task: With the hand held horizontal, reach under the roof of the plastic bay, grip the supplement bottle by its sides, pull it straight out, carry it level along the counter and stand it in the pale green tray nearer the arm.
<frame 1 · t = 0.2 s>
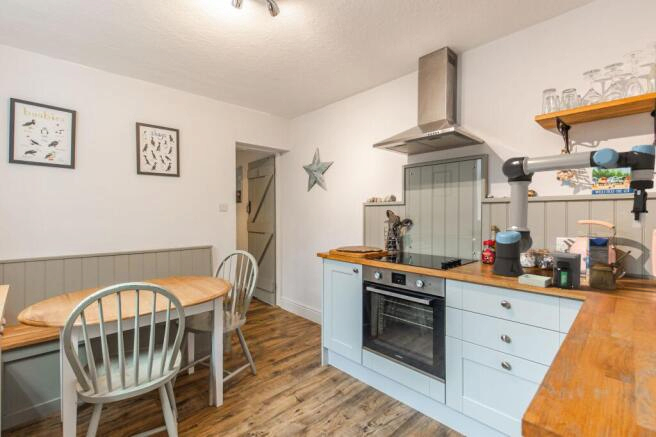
hand: (638, 227, 136), 28 cm above the worktop, tool pointing down, fingers open, 13 cm apart
bay: (563, 287, 138), on the worktop
wooden mug: (608, 288, 136), on the worktop
beverage box: (596, 283, 147), on the worktop
tray: (534, 283, 145), on the worktop
supplement bottle: (562, 288, 137), on the worktop
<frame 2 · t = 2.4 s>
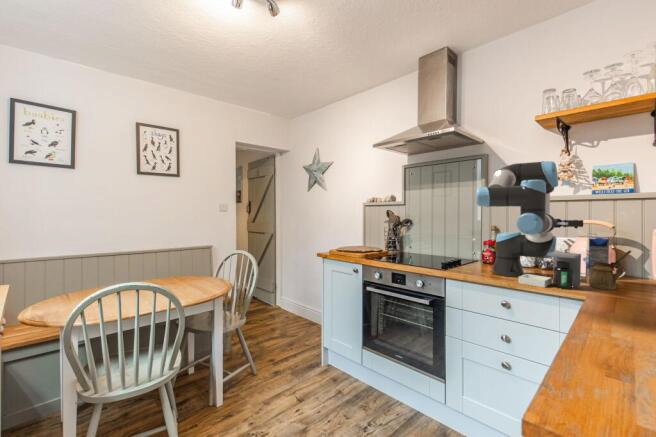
hand: (556, 222, 128), 30 cm above the worktop, tool horizontal, fingers open, 13 cm apart
nothing on the worktop moved.
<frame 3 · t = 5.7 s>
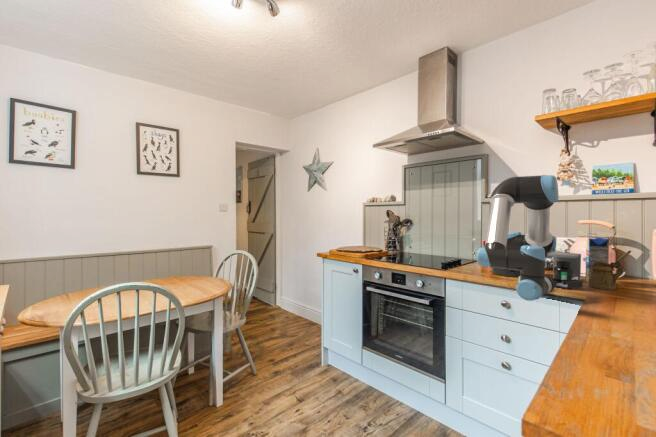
hand: (556, 277, 130), 6 cm above the worktop, tool horizontal, fingers open, 13 cm apart
nothing on the worktop moved.
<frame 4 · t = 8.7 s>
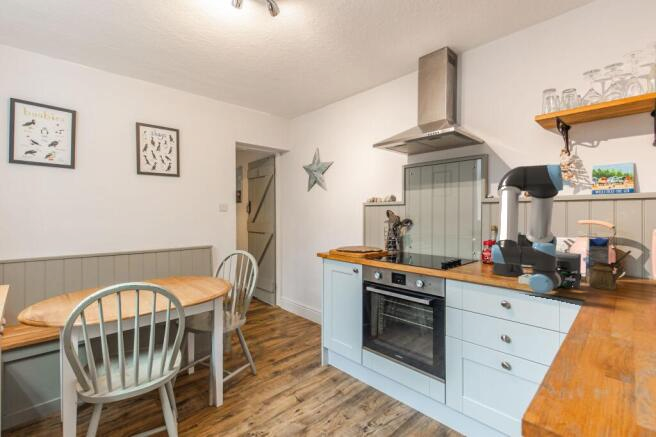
hand: (565, 272, 140), 7 cm above the worktop, tool horizontal, fingers closed on supplement bottle, 7 cm apart
supplement bottle: (562, 288, 137), on the worktop, touching gripper
everything else where it was.
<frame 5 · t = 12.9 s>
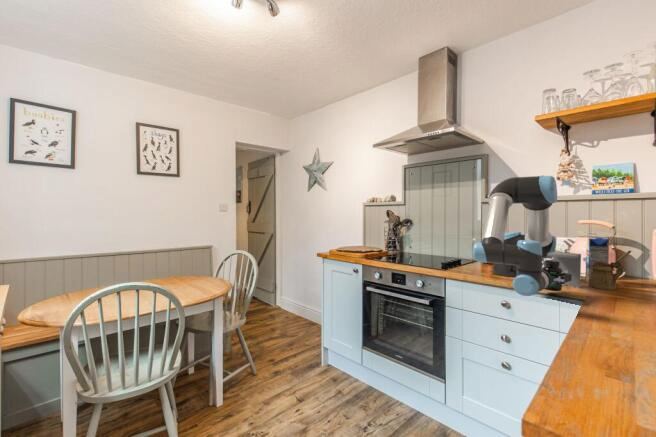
hand: (555, 272, 130), 9 cm above the worktop, tool horizontal, fingers closed on supplement bottle, 7 cm apart
supplement bottle: (551, 289, 127), point 2 cm above the worktop, touching gripper
everything else where it was.
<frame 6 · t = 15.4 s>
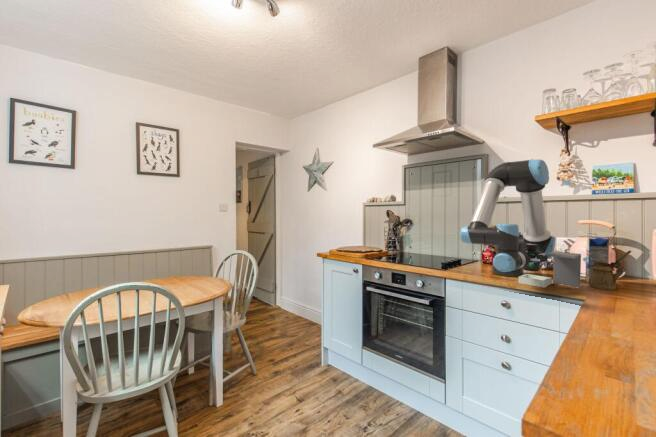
hand: (534, 255, 143), 14 cm above the worktop, tool horizontal, fingers closed on supplement bottle, 7 cm apart
supplement bottle: (530, 270, 140), point 7 cm above the worktop, touching gripper
everything else where it was.
when the fingers open (8 cm above the worktop, at t = 17.4 s): supplement bottle drops 1 cm, resting on tray.
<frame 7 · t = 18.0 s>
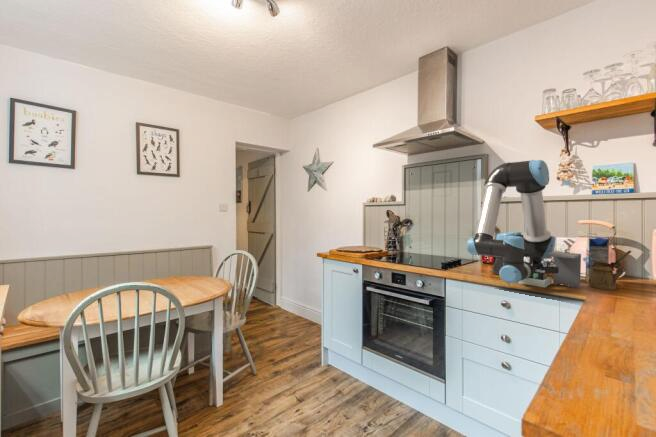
hand: (537, 265, 146), 8 cm above the worktop, tool horizontal, fingers open, 13 cm apart
supplement bottle: (534, 282, 145), resting on tray
everything else where it was.
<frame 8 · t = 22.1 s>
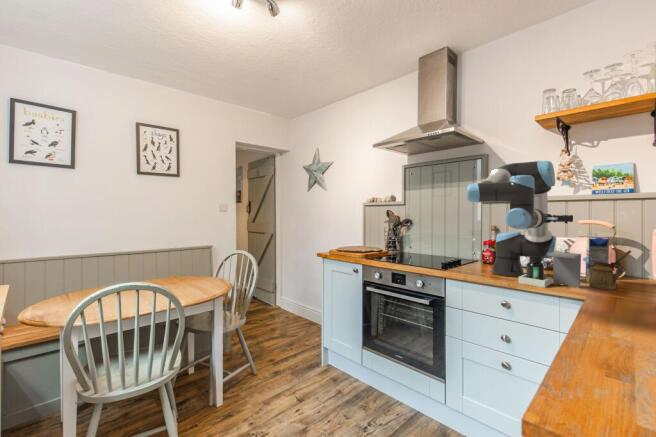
hand: (548, 217, 129), 32 cm above the worktop, tool horizontal, fingers open, 13 cm apart
nothing on the worktop moved.
at the end: supplement bottle inside the target area on the tray (0.1 cm from its centre), point 0.4 cm above the tray's base; supplement bottle tilted 0°; the gripper is holding nothing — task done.
